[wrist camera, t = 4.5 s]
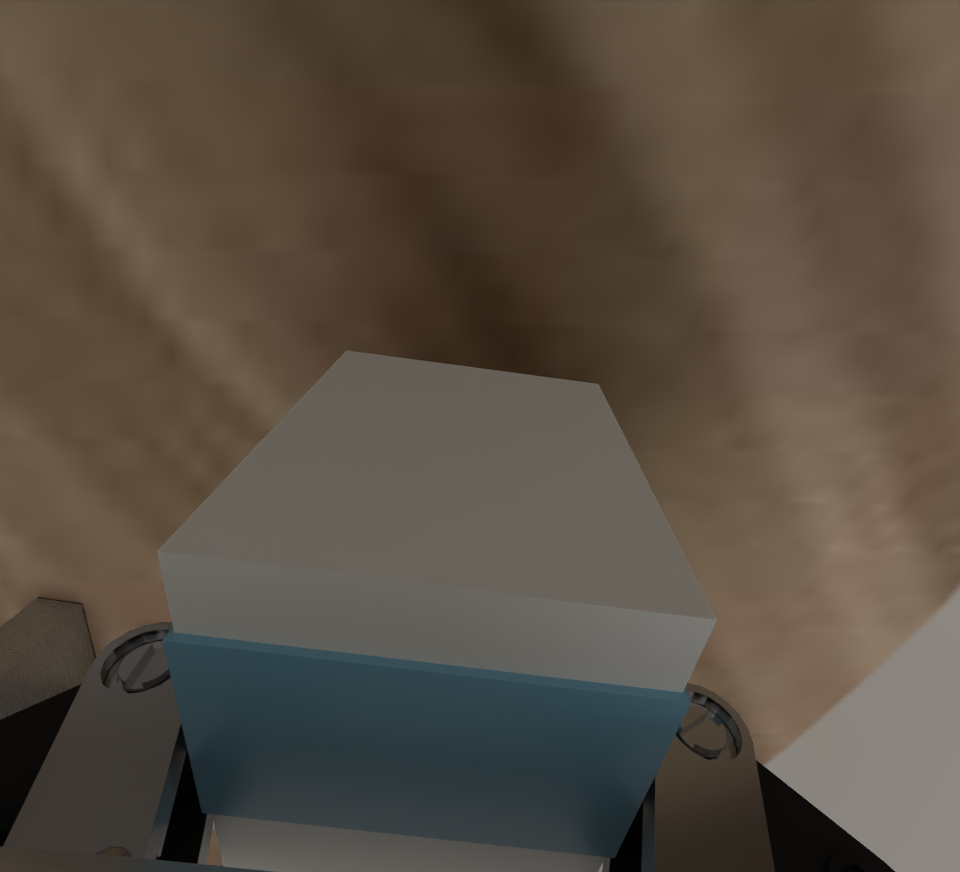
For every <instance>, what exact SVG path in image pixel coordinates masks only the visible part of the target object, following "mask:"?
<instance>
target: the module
mask: <svg viewBox="0 0 960 872" xmlns="http://www.w3.org/2000/svg"><path fill="white" fill-rule="evenodd" d="M157 554H158V559H159V564H160V569H161V573H162V578H163V583H164V588H165V592H166V597H167V602H168V606H169V611H170V616H171V621H172V625H173V627H172V628H171V630H170V631H169V632H168V634H167V635H166V636H165V638H164V639H163V645H164V649H165V654H166V658H167V662H168V667H169V671H170V675H171V680H172V684H173V689H174V693H175V697H176V702H177V706H178V710H179V715H180V719H181V724H182V728H183V732H184V737H185V741H186V745H187V750H188V754H189V759H190V763H191V767H192V772H193V776H194V780H195V785H196V789H197V794H198V798H199V802H200V807H201V811H202V813H205V814H213V819H214V824H215V829H216V833H217V838H218V843H219V848H220V852H221V857H222V862H223V866H224V867H234V868H244V869H254V870H264V871H274V872H598V871H599V869H600V867H601V864H602V862H603V860H604V858H605V857H608V858H615V857H616V855H617V853H618V851H619V849H620V846H621V844H622V842H623V840H624V838H625V836H626V834H627V832H628V830H629V828H630V826H631V824H632V822H633V820H634V818H635V816H636V814H637V812H638V810H639V808H640V806H641V804H642V802H643V800H644V798H645V796H646V794H647V792H648V790H649V787H650V785H651V783H652V781H653V779H654V777H655V775H656V773H657V771H658V769H659V767H660V765H661V763H662V761H663V759H664V757H665V755H666V753H667V751H668V749H669V747H670V745H671V743H672V741H673V739H674V737H675V735H676V733H677V731H678V728H679V726H680V724H681V722H682V720H683V718H684V716H685V714H686V712H687V710H688V708H689V706H690V704H691V700H690V698H689V695H688V692H687V690H686V685H687V683H688V681H689V678H690V676H691V674H692V672H693V670H694V668H695V666H696V664H697V662H698V659H699V657H700V655H701V653H702V651H703V649H704V647H705V645H706V643H707V640H708V638H709V636H710V634H711V632H712V630H713V628H714V626H715V623H716V621H717V618H716V616H715V614H714V612H713V611H712V609H711V607H710V605H709V603H708V601H707V599H706V597H705V595H704V593H703V591H702V589H701V587H700V585H699V583H698V581H697V579H696V577H695V575H694V573H693V571H692V569H691V567H690V565H689V563H688V561H687V559H686V557H685V555H684V553H683V551H682V549H681V547H680V545H679V543H678V541H677V539H676V537H675V535H674V533H673V531H672V529H671V527H670V525H669V523H668V521H667V519H666V517H665V515H664V513H663V511H662V509H661V507H660V505H659V503H658V501H657V499H656V497H655V495H654V493H653V491H652V489H651V487H650V485H649V483H648V481H647V479H646V477H645V475H644V473H643V471H642V469H641V467H640V465H639V463H638V461H637V459H636V458H635V456H634V454H633V452H632V450H631V448H630V446H629V444H628V442H627V440H626V438H625V436H624V434H623V432H622V430H621V428H620V426H619V424H618V422H617V420H616V418H615V416H614V414H613V412H612V410H611V408H610V406H609V404H608V402H607V400H606V398H605V396H604V394H603V392H602V390H601V388H600V386H599V384H595V383H587V382H580V381H572V380H565V379H557V378H550V377H542V376H535V375H527V374H520V373H512V372H505V371H497V370H490V369H482V368H475V367H467V366H460V365H452V364H445V363H437V362H430V361H422V360H415V359H407V358H400V357H392V356H385V355H377V354H370V353H362V352H355V351H347V350H346V351H345V352H344V353H343V355H342V356H341V357H340V358H339V359H338V360H337V361H336V362H335V363H334V364H333V365H332V366H331V367H330V368H329V369H328V370H327V372H326V373H325V374H324V375H323V376H322V377H321V378H320V379H319V380H318V381H317V382H316V383H315V384H314V385H313V386H312V387H311V388H310V390H309V391H308V392H307V393H306V394H305V395H304V396H303V397H302V398H301V399H300V400H299V401H298V402H297V403H296V404H295V405H294V407H293V408H292V409H291V410H290V411H289V412H288V413H287V414H286V415H285V416H284V417H283V418H282V419H281V420H280V421H279V422H278V423H277V425H276V426H275V427H274V428H273V429H272V430H271V431H270V432H269V433H268V434H267V435H266V436H265V437H264V438H263V439H262V440H261V442H260V443H259V444H258V445H257V446H256V447H255V448H254V449H253V450H252V451H251V452H250V453H249V454H248V455H247V456H246V457H245V459H244V460H243V461H242V462H241V463H240V464H239V465H238V466H237V467H236V468H235V469H234V470H233V471H232V472H231V473H230V474H229V475H228V477H227V478H226V479H225V480H224V481H223V482H222V483H221V484H220V485H219V486H218V487H217V488H216V489H215V490H214V491H213V492H212V494H211V495H210V496H209V497H208V498H207V499H206V500H205V501H204V502H203V503H202V504H201V505H200V506H199V507H198V508H197V509H196V510H195V512H194V513H193V514H192V515H191V516H190V517H189V518H188V519H187V520H186V521H185V522H184V523H183V524H182V525H181V526H180V527H179V529H178V530H177V531H176V532H175V533H174V534H173V535H172V536H171V537H170V538H169V539H168V540H167V541H166V542H165V543H164V544H163V546H162V547H161V548H160V549H159V550H158V551H157Z"/></svg>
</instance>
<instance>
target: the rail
mask: <svg viewBox="0 0 960 872" xmlns="http://www.w3.org/2000/svg"><path fill="white" fill-rule="evenodd" d="M94 660H95V656H94V652H93V648H92V644H91V640H90V636H89V632H88V628H87V624H86V620H85V616H84V612H83V608H82V604H77V603H70V602H63V601H56V600H49V599H42V598H37V599H35V600H34V601H33V602H31V603H30V604H29V605H28V606H26V607H25V608H24V609H23V610H21V611H20V612H19V613H18V614H16V615H15V616H14V617H13V618H11V619H10V620H9V621H7V622H6V623H5V624H4V625H2V626H1V627H0V719H3V718H5V717H7V716H10V715H12V714H14V713H16V712H19V711H21V710H23V709H25V708H28V707H30V706H32V705H35V704H37V703H39V702H41V701H44V700H46V699H48V698H50V697H53V696H55V695H57V694H59V693H62V692H64V691H66V690H69V689H71V688H73V687H75V686H78V685H80V684H82V682H83V680H84V678H85V676H86V674H87V672H88V670H89V668H90V666H91V664H92V663H93V661H94ZM212 829H215V824H214V822H213V828H212ZM602 867H603V862H602V864H601V867H600V869H599V871H598V872H602Z"/></svg>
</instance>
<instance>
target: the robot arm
mask: <svg viewBox="0 0 960 872" xmlns="http://www.w3.org/2000/svg"><path fill="white" fill-rule="evenodd" d="M172 627H173V625H172V622H159V623H154V624H149V625H144V626H142V627H139V628H137V629H134V630H131V631H129V632H127V633H125V634H124V635H122V636H120V637H119V638H117V639H115V640H114V641H112V642H111V643H110V644H109V645H108V646H107V647H105V648H104V649H103V650H102V651H101V652H100V653H99V654H98V656H97V657H96V659H95V660H94V661H93V663H92V664H91V666H90V668H89V670H88V672H87V674H86V676H85V678H84V680H83V682H82V684H80V685H78V686H75V687H73V688H71V689H69V690H66V691H64V692H62V693H59V694H57V695H55V696H53V697H50V698H48V699H46V700H44V701H41V702H39V703H37V704H35V705H32V706H30V707H28V708H25V709H23V710H21V711H19V712H16V713H14V714H12V715H10V716H7V717H5V718H3V719H0V872H274V871H264V870H254V869H244V868H234V867H224V866H214V865H206V861H207V855H208V850H209V844H210V839H211V833H212V828H213V822H214V819H213V814H205V813H202V811H201V807H200V802H199V798H198V794H197V789H196V785H195V780H194V776H193V772H192V767H191V763H190V759H189V754H188V750H187V745H186V741H185V737H184V732H183V728H182V724H181V719H180V715H179V710H178V706H177V702H176V697H175V693H174V689H173V684H172V680H171V675H170V671H169V667H168V662H167V658H166V654H165V649H164V645H163V639H164V638H165V636H166V635H167V634H168V632H169V631H170V630H171V628H172ZM686 690H687V692H688V695H689V698H690V700H691V704H690V706H689V708H688V710H687V712H686V714H685V716H684V718H683V720H682V722H681V724H680V726H679V728H678V731H677V733H676V735H675V737H674V739H673V741H672V743H671V745H670V747H669V749H668V751H667V753H666V755H665V757H664V759H663V761H662V763H661V765H660V767H659V769H658V771H657V773H656V775H655V777H654V779H653V781H652V783H651V785H650V787H649V790H648V792H647V794H646V796H645V798H644V800H643V802H642V804H641V806H640V808H639V810H638V812H637V814H636V816H635V818H634V820H633V822H632V824H631V826H630V828H629V830H628V832H627V834H626V836H625V838H624V840H623V842H622V844H621V846H620V849H619V851H618V853H617V855H616V857H615V858H608V857H605V858H604V860H603V867H602V872H895V871H894V870H893V869H891V868H890V867H889V866H888V865H887V864H886V863H885V862H884V861H882V860H881V859H880V858H879V857H877V856H876V855H875V854H874V853H872V852H871V851H870V850H869V849H867V848H866V847H865V846H864V845H862V844H861V843H860V842H859V841H857V840H856V839H855V838H854V837H852V836H851V835H850V834H848V833H847V832H846V831H845V830H843V829H842V828H841V827H840V826H838V825H837V824H836V823H835V822H833V821H832V820H831V819H829V818H828V817H827V816H826V815H825V814H823V813H822V812H821V811H820V810H818V809H817V808H816V807H814V806H813V805H812V804H811V803H809V802H808V801H807V800H806V799H804V798H803V797H802V796H801V795H799V794H798V793H797V792H796V791H794V790H793V789H792V788H791V787H789V786H788V785H787V784H785V783H784V782H783V781H782V780H780V779H779V778H778V777H777V776H775V775H774V774H773V773H772V772H770V771H769V770H768V769H767V768H765V767H764V766H763V765H762V764H760V763H759V762H758V761H757V760H756V757H755V751H754V745H753V741H752V738H751V735H750V732H749V729H748V727H747V725H746V724H745V722H744V721H743V719H742V718H741V716H740V714H739V713H738V712H737V711H736V710H735V709H734V708H733V707H732V706H731V705H730V704H729V703H728V702H727V701H725V700H724V699H723V698H721V697H720V696H719V695H717V694H716V693H714V692H712V691H710V690H708V689H706V688H704V687H702V686H699V685H694V684H690V683H687V685H686Z"/></svg>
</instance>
